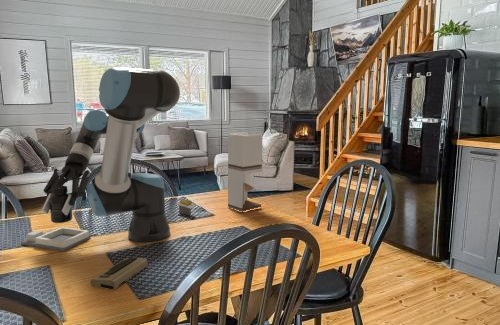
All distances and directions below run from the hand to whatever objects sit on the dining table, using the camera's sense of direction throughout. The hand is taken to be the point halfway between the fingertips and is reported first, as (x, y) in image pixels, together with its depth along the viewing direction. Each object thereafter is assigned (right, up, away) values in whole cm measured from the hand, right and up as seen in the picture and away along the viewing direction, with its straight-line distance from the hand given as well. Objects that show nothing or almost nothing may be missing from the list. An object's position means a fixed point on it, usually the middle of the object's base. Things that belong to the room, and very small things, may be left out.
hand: (54, 212), depth 130 cm
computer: (+29, -16, -19) cm, 39 cm away
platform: (+38, -7, +40) cm, 56 cm away
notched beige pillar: (+64, -5, +50) cm, 81 cm away
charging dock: (-2, -11, +6) cm, 13 cm away
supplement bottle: (0, -4, +4) cm, 6 cm away
